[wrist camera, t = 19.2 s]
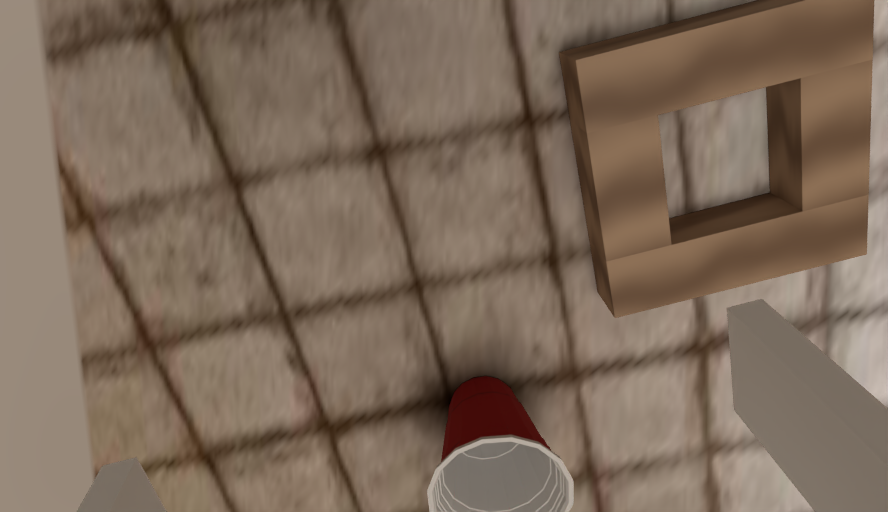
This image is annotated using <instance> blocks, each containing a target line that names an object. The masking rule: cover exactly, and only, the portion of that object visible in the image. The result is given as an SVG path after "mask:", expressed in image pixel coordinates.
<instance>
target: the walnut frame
mask: <svg viewBox="0 0 888 512" xmlns="http://www.w3.org/2000/svg"><path fill="white" fill-rule="evenodd" d="M873 25H874V0H757V1H753V2H749V3H746V4H742V5H738V6H734V7H730V8H727V9H723V10H719V11H715V12H711V13H707V14H704V15H700V16H696V17H692V18H688V19H684V20H681V21H677V22H673V23H669V24H665V25H661V26H658V27H654V28H650V29H646V30H642V31H638V32H635V33H631V34H627V35H623V36H619V37H615V38H612V39H608V40H604V41H600V42H596V43H593V44H589V45H585V46H581V47H577V48H573V49H570V50H566V51H562V52H559V56H560V62H561V68H562V74H563V80H564V87H565V93H566V99H567V105H568V111H569V118H570V124H571V130H572V136H573V142H574V148H575V155H576V161H577V167H578V173H579V179H580V186H581V192H582V198H583V204H584V210H585V216H586V223H587V229H588V235H589V241H590V247H591V254H592V260H593V266H594V272H595V278H596V284H597V291H598V293H599V295H600V296H601V298H602V299H603V301H604V302H605V304H606V305H607V307H608V308H609V310H610V311H611V313H612V314H613V316H614V317H615V318H617V317H621V316H625V315H629V314H633V313H637V312H641V311H645V310H649V309H653V308H657V307H661V306H665V305H669V304H673V303H677V302H681V301H684V300H688V299H692V298H696V297H700V296H704V295H708V294H712V293H716V292H720V291H724V290H728V289H732V288H736V287H740V286H744V285H748V284H752V283H755V282H759V281H763V280H767V279H771V278H775V277H779V276H783V275H787V274H791V273H795V272H799V271H803V270H807V269H811V268H815V267H819V266H823V265H826V264H830V263H834V262H838V261H842V260H846V259H850V258H854V257H858V256H862V255H866V254H867V228H868V194H869V160H870V126H871V93H872V59H873ZM764 87H766V91H767V119H768V147H769V175H770V193H767V194H763V195H759V196H756V197H752V198H748V199H744V200H740V201H736V202H732V203H728V204H724V205H720V206H716V207H713V208H709V209H705V210H701V211H697V212H693V213H689V214H685V215H681V216H677V217H673V218H670V219H669V216H668V207H667V197H666V188H665V178H664V169H663V159H662V150H661V140H660V131H659V121H658V115H660V114H664V113H668V112H671V111H675V110H679V109H683V108H687V107H691V106H695V105H699V104H702V103H706V102H710V101H714V100H718V99H722V98H726V97H729V96H733V95H737V94H741V93H745V92H749V91H753V90H756V89H760V88H764Z"/></svg>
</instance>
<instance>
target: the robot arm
mask: <svg viewBox="0 0 888 512" xmlns="http://www.w3.org/2000/svg"><path fill="white" fill-rule="evenodd" d="M727 317H728V331H729V345H730V359H731V374H732V388H733V402H734V410H735V412H736V413H737V414H738V415H739V417H740V418H741V419H742V420H743V422H744V423H745V424H746V425H747V427H748V428H749V429H750V430H751V432H752V433H753V434H754V435H755V437H756V438H757V439H758V440H759V442H760V443H761V444H762V445H763V447H764V448H765V449H766V450H767V452H768V453H769V454H770V455H771V457H772V458H773V459H774V460H775V462H776V463H777V464H778V465H779V467H780V468H781V469H782V470H783V472H784V473H785V474H786V476H787V477H788V478H789V479H790V481H791V482H792V483H793V484H794V486H795V487H796V488H797V489H798V491H799V492H800V493H801V494H802V496H803V497H804V498H805V499H806V501H807V502H808V503H809V504H810V506H811V507H812V508H813V509H814V511H815V512H888V408H887V407H885V406H884V405H883V404H882V403H881V402H880V401H878V400H877V399H876V398H875V397H874V396H873V395H872V394H870V393H869V392H868V391H867V390H866V389H865V388H864V387H862V386H861V385H860V384H859V383H858V382H857V381H856V380H854V379H853V378H852V377H851V376H850V375H849V374H847V373H846V372H845V371H844V370H843V369H842V368H841V367H839V366H838V365H837V364H836V363H835V362H834V361H833V360H831V359H830V358H829V357H828V356H827V355H826V354H825V353H823V352H822V351H821V350H820V349H819V348H818V347H817V346H815V345H814V344H813V343H812V342H811V341H810V340H808V339H807V338H806V337H805V336H804V335H803V334H802V333H800V332H799V331H798V330H797V329H796V328H795V327H794V326H792V325H791V324H790V323H789V322H788V321H787V320H786V319H784V318H783V317H782V316H781V315H780V314H779V313H777V312H776V311H775V310H774V309H773V308H772V307H771V306H769V305H768V304H767V303H766V302H765V301H764V300H763V299H760V300H756V301H752V302H748V303H744V304H740V305H736V306H732V307H728V308H727ZM77 512H167V511H166V510H165V508H164V506H163V504H162V502H161V501H160V499H159V497H158V495H157V493H156V492H155V490H154V488H153V486H152V484H151V483H150V481H149V479H148V477H147V475H146V474H145V472H144V470H143V468H142V466H141V465H140V463H139V461H138V459H137V457H135V458H132V459H128V460H124V461H120V462H116V463H112V464H108V465H104V466H102V468H101V469H100V471H99V473H98V475H97V477H96V478H95V480H94V482H93V484H92V485H91V487H90V489H89V491H88V493H87V494H86V496H85V498H84V500H83V502H82V503H81V505H80V507H79V509H78V510H77Z"/></svg>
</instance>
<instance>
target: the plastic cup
mask: <svg viewBox="0 0 888 512" xmlns="http://www.w3.org/2000/svg"><path fill="white" fill-rule="evenodd" d="M427 494H428V502H429V510H430V512H569V511H570V509H571V507H572V505H573V503H574V495H573V479H572V477H571V475H570V474H569V472H568V470H567V468H566V467H565V465H564V463H563V461H562V460H561V458H560V457H559V456H558V455H557V454H555V453H554V452H552V451H551V449H550V447H549V446H547V444H546V442H545V440H544V439H543V438H542V437H541V436H540V434H539V432H538V431H537V429H536V427H535V426H534V424H533V422H532V421H531V419H530V417H529V416H528V414H527V412H526V411H525V409H524V407H523V406H522V404H521V403H520V402H519V401H518V400H517V398H516V396H515V395H514V393H513V391H512V390H511V388H510V387H508V385H507V384H505V383H504V382H502V381H501V380H499V379H497V378H493V377H488V376H483V377H475V378H472V379H470V380H468V381H466V382H464V383H462V384H461V385H460V386H459V387H458V388H457V390H456V391H455V392H454V394H453V397H452V400H451V402H450V405H449V413H448V422H447V424H446V430H445V437H444V445H443V452H442V460H441V463H440V464H439V465H438V466H437V468H436V470H435V472H434V475H433V477H432V480H431V483H430V485H429V488H428V490H427Z"/></svg>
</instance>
